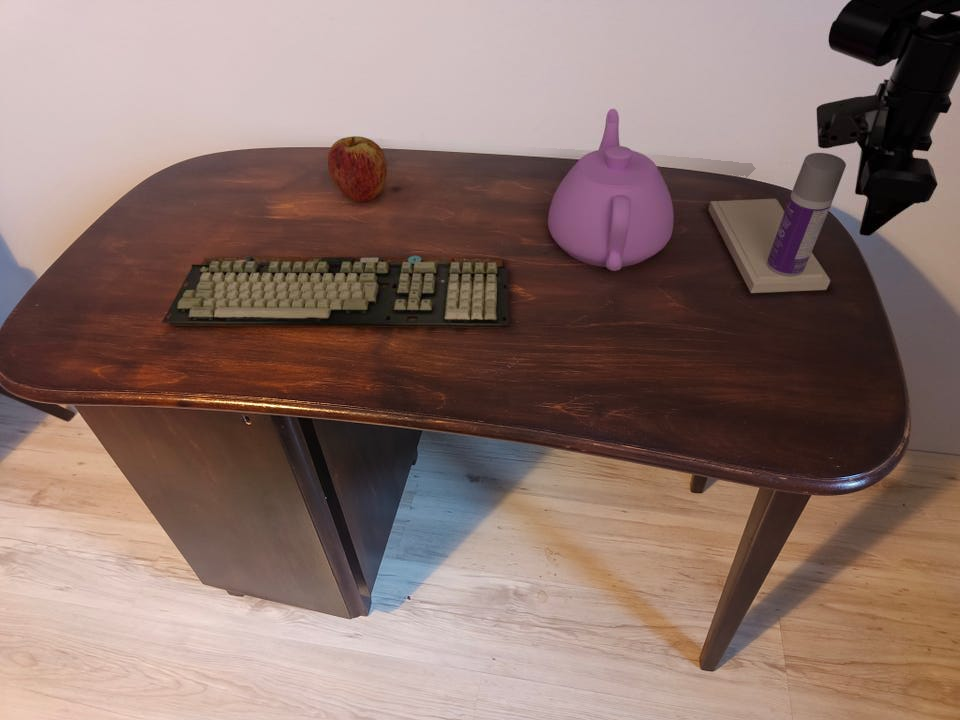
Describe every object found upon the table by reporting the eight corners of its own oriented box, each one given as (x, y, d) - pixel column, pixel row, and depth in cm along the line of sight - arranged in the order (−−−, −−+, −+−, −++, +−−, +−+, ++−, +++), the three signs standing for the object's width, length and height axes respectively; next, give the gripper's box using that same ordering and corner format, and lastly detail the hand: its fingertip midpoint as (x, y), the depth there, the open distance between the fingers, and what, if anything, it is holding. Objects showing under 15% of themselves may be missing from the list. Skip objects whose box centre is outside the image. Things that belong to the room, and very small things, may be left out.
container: (758, 261, 85) (794, 157, 75) (785, 251, 87) (825, 148, 76) (784, 280, 82) (825, 175, 72) (811, 270, 84) (856, 165, 73)
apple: (325, 206, 102) (311, 148, 95) (349, 178, 108) (338, 121, 101) (377, 214, 100) (367, 155, 93) (399, 185, 106) (391, 127, 99)
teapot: (680, 287, 85) (703, 197, 75) (547, 285, 86) (552, 196, 77) (656, 189, 103) (672, 105, 93) (546, 188, 104) (550, 106, 94)
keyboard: (163, 329, 82) (155, 314, 81) (202, 260, 93) (196, 246, 91) (510, 330, 80) (510, 315, 78) (511, 260, 90) (511, 245, 89)
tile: (826, 290, 84) (831, 278, 82) (750, 293, 84) (754, 281, 82) (772, 207, 98) (776, 196, 96) (708, 210, 98) (710, 198, 96)
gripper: (832, 42, 73) (790, 167, 84) (839, 110, 61) (788, 246, 72) (942, 51, 70) (883, 179, 81) (972, 124, 58) (898, 263, 69)
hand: (861, 213), depth 76 cm, fingers open, 9 cm apart
